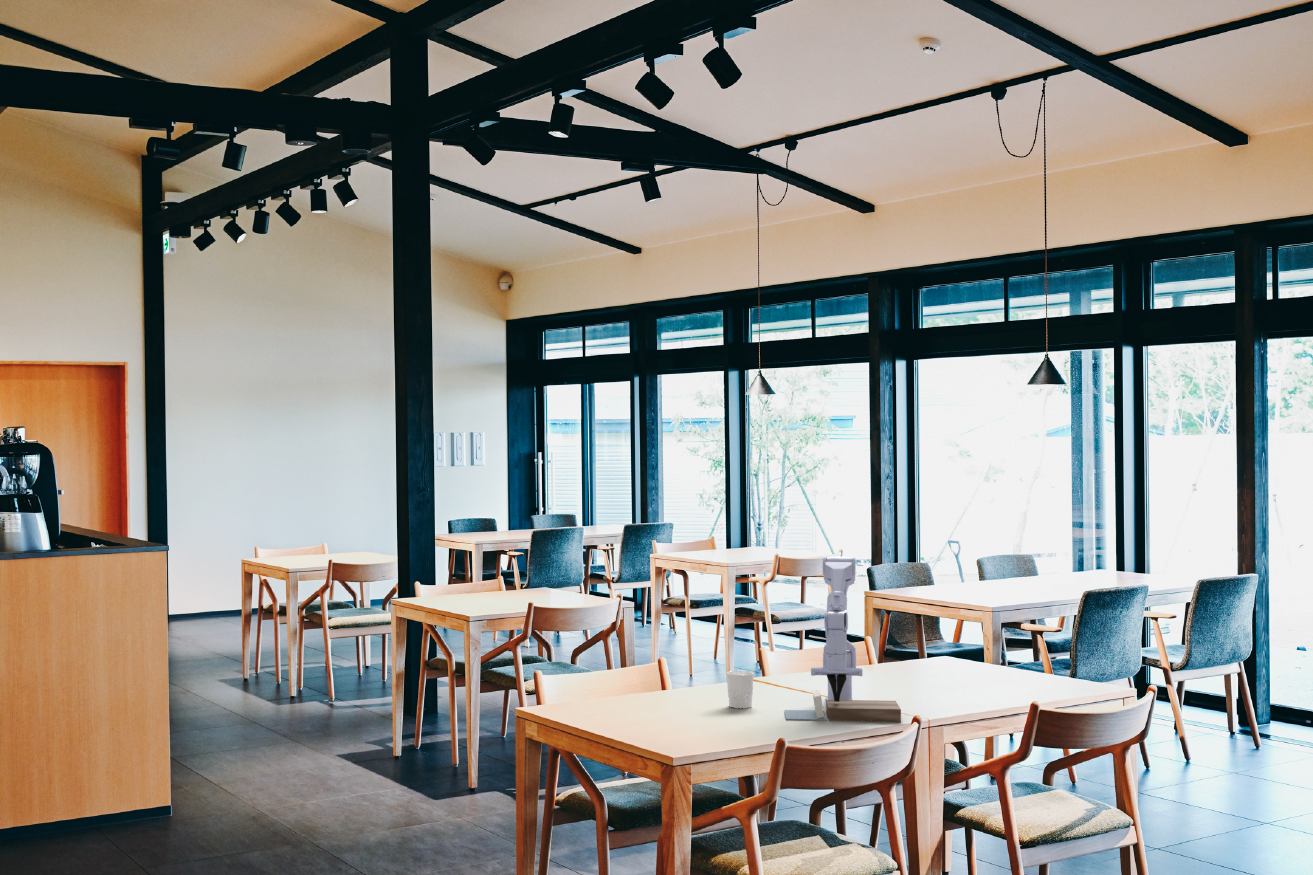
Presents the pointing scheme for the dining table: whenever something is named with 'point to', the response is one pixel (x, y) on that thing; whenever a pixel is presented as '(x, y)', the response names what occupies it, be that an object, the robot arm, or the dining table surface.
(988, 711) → the dining table surface
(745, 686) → the white cup
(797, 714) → the slate mat
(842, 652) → the robot arm
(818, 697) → the cream tile
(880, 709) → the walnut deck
